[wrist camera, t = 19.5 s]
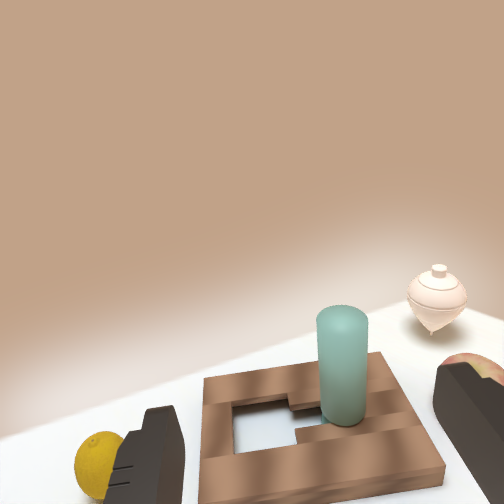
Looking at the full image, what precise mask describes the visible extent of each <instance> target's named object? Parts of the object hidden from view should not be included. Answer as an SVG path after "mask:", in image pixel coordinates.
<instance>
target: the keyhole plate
mask: <svg viewBox="0 0 504 504" xmlns="http://www.w3.org/2000/svg"><path fill="white" fill-rule="evenodd" d="M287 398H288V402H289V407H290V411H294V410H300V409H307V408H313V407H320V406H321V401H320V381H319V362H318V361H314V362H307V363H301V364H294V365H287V366H281V367H274V368H268V369H261V370H254V371H248V372H241V373H235V374H228V375H221V376H215V377H208V378H204V387H203V408H202V429H201V450H200V471H199V491H198V504H329V503H335V502H341V501H348V500H354V499H360V498H366V497H373V496H379V495H385V494H391V493H398V492H404V491H410V490H417V489H423V488H429V487H435V486H442V484H443V479H444V474H445V468H446V464H445V463H444V461H443V459H442V458H441V456H440V454H439V452H438V451H437V449H436V447H435V445H434V444H433V442H432V440H431V439H430V437H429V435H428V433H427V432H426V430H425V428H424V426H423V425H422V423H421V421H420V420H419V418H418V416H417V414H416V413H415V411H414V409H413V407H412V406H411V404H410V402H409V401H408V399H407V397H406V395H405V394H404V392H403V390H402V388H401V387H400V385H399V383H398V382H397V380H396V378H395V376H394V375H393V373H392V371H391V369H390V368H389V366H388V364H387V363H386V361H385V359H384V357H383V356H382V354H381V352H373V353H367V384H366V413H365V416H364V418H363V419H362V420H361V421H360V422H359V423H357V424H355V425H351V426H340V425H337V424H334V423H328V424H322V425H315V426H309V427H302V428H296V429H295V435H296V440H297V445H290V446H284V447H278V448H271V449H265V450H258V451H252V452H245V453H239V454H234V444H233V419H232V407H235V406H241V405H248V404H254V403H261V402H267V401H274V400H280V399H287Z"/></svg>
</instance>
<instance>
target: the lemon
mask: <svg viewBox="0 0 504 504" xmlns="http://www.w3.org/2000/svg"><path fill="white" fill-rule="evenodd" d="M123 440H124V439H123V438H122V437H120V436H119V435H117V434H116V433H113V432H109V431H103V432H98V433H96V434H93V435H92V436H90V437H89V438H87V439H86V440H85V441H84V442H83V443H82V445H81V446H80V448H79V449H78V451H77V454H76V457H75V464H74V470H75V475H76V479H77V482H78V485H79V486H80V488H81V489H82V490H83V492H84V493H85V494H87V495H88V496H90V497H92V498H95V499H104V498H105V494H106V491H107V489H108V483H109V480H110V476H111V473H112V472H113V469H112V468H113V465H114V461H115V457H116V453H117V450H118V448H119V446H120V445H121V443H122V442H123Z"/></svg>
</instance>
